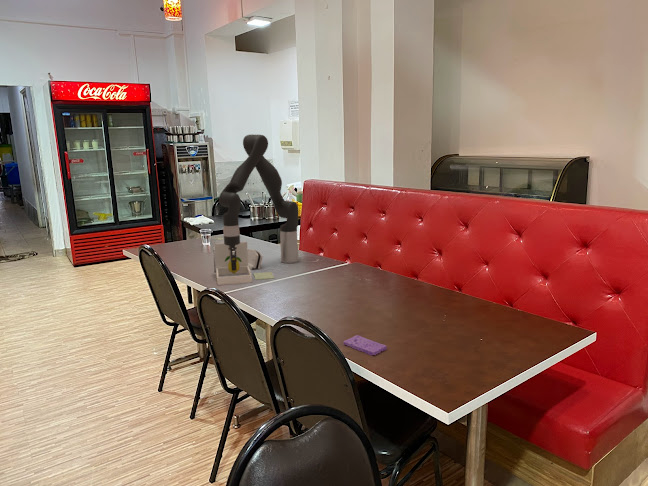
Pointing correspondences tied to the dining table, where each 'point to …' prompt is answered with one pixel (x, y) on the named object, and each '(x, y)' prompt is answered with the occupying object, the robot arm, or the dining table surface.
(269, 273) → the mat
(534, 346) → the dining table surface
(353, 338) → the sponges
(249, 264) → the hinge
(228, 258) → the lemon
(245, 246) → the case
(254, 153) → the robot arm
